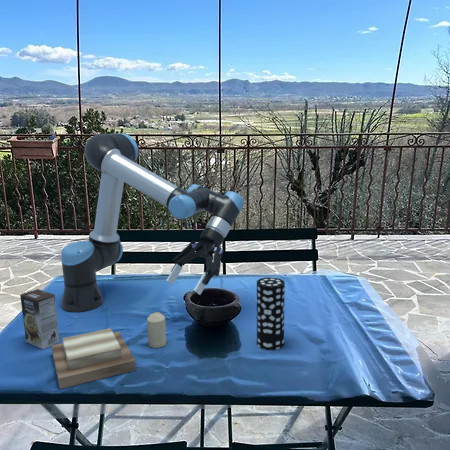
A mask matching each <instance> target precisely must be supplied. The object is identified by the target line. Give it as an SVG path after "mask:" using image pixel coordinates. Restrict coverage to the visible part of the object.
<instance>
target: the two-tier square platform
mask: <svg viewBox="0 0 450 450" xmlns="http://www.w3.org/2000/svg"><path fill="white" fill-rule="evenodd" d="M51 355H52V359H53V364H54V368H55V372H56V379H57V382H58V387H59V390H62V389H65V388H69V387H74V386H78V385H82V384H87V383H89V382H94V381H97V380H102V379H106V378H110V377H113V376H118V375H121V374H126V373H130V372H135V371H136V370H137V369H136V368H137V367H136V366H137V365H136V359H135V357H134V356H133V354H132V351H131V350H130V348H129V347H128V345H127V343H126V341H125V340H124V338H123V336H122V334H121V332H120V331H115V332H113V330H112V328H106V329H105V328H104V329H100V330H97V331H96V330H95V331H90V332H85V333H81V334H76V335H72V336H71V335H70V336H67V337H62V343H61V342H60V343H56V344H54V345H52V346H51Z"/></svg>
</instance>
